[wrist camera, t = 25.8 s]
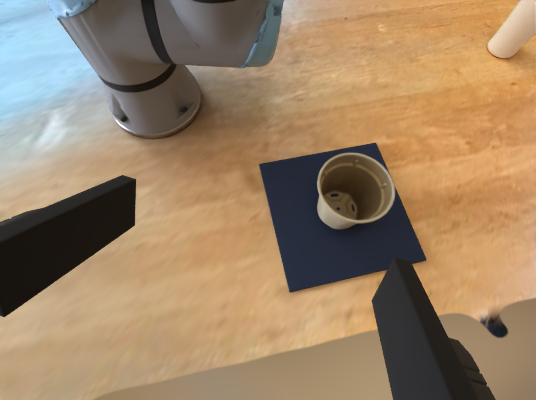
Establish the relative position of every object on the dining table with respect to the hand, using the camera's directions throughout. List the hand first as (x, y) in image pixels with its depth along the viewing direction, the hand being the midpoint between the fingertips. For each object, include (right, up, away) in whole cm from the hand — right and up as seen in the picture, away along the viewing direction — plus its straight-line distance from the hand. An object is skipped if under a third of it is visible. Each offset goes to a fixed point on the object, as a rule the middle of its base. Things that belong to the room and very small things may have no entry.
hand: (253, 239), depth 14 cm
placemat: (+11, 0, +28) cm, 30 cm away
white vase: (+48, +32, +42) cm, 71 cm away
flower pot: (+11, 0, +28) cm, 30 cm away
